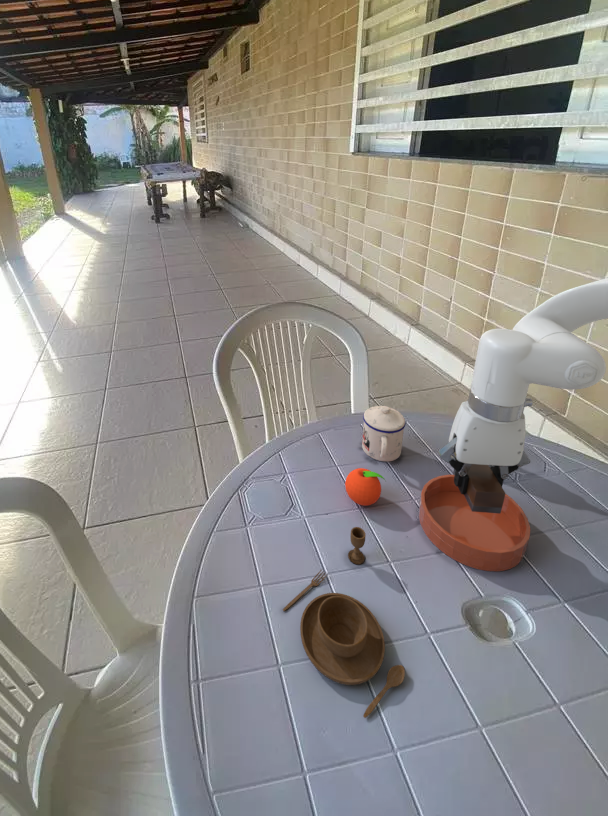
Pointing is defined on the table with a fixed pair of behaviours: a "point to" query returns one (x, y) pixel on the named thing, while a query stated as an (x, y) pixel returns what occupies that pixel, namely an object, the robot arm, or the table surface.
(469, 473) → the eraser
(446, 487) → the bowl
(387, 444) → the teacup with lid
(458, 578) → the table surface
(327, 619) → the place setting
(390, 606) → the table surface
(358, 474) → the clementine
